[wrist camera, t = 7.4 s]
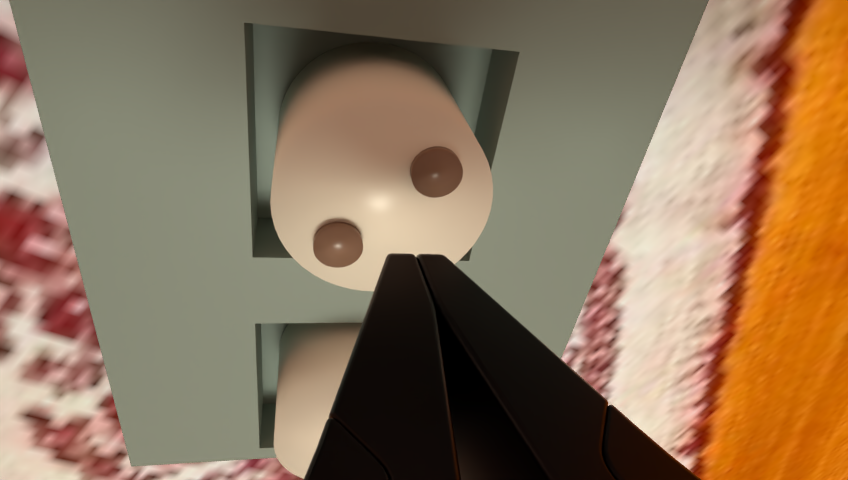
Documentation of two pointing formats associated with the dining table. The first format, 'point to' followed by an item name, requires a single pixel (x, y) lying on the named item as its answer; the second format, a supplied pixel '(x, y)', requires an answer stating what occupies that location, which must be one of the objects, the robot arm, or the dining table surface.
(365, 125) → the button two
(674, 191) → the dining table surface
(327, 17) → the board
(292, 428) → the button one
